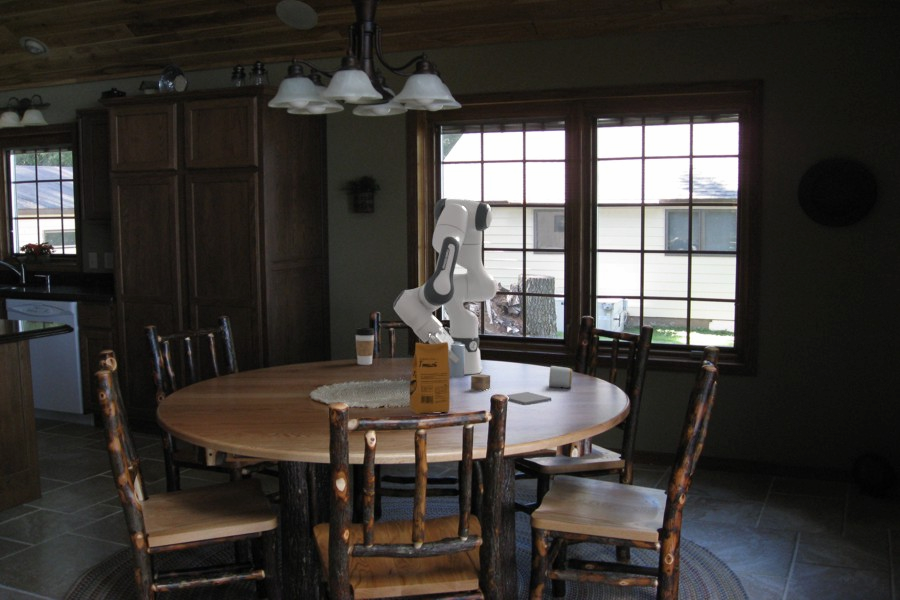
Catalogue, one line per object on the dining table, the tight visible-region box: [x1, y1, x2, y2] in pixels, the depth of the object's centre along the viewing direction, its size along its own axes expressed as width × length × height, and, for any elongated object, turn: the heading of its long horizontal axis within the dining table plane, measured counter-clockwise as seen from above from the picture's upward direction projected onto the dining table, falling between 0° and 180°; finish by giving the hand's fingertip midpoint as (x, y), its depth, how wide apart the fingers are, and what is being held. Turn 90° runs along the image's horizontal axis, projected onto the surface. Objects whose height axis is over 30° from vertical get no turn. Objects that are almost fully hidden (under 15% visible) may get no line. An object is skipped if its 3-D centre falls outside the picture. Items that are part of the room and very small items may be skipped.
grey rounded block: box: [548, 365, 573, 389], centre depth 310 cm, size 11×8×8 cm
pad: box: [506, 391, 552, 405], centre depth 287 cm, size 12×12×1 cm
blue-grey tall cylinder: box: [449, 343, 465, 379], centre depth 291 cm, size 6×6×11 cm
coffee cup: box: [354, 327, 376, 366], centre depth 352 cm, size 8×8×15 cm
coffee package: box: [409, 342, 451, 415], centre depth 268 cm, size 10×12×22 cm
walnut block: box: [470, 373, 491, 392], centre depth 303 cm, size 5×5×5 cm
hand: (458, 359), depth 291 cm, fingers closed on blue-grey tall cylinder, 6 cm apart
